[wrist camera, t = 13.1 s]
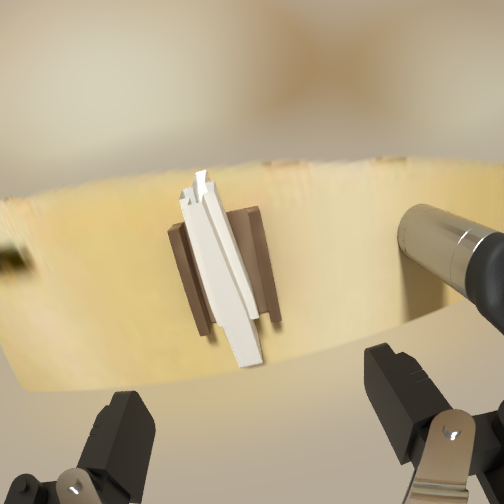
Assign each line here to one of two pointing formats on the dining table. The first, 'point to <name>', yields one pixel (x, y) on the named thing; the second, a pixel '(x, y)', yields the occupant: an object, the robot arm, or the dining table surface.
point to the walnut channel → (253, 255)
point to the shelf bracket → (222, 268)
